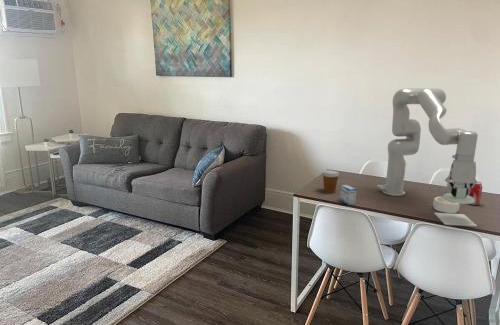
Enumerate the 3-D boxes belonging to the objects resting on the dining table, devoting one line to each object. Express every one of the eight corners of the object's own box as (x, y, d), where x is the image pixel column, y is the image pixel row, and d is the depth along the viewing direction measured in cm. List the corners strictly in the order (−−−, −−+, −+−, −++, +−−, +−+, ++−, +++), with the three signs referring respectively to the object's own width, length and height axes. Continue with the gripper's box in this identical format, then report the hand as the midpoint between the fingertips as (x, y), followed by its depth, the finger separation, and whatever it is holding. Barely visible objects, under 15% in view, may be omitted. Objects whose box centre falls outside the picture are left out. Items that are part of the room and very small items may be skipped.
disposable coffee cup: (331, 195, 211) (332, 174, 209) (317, 191, 218) (319, 171, 215) (341, 191, 218) (342, 172, 215) (327, 188, 224) (329, 168, 222)
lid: (449, 203, 171) (451, 190, 169) (438, 194, 183) (440, 182, 182) (479, 204, 169) (481, 191, 168) (466, 195, 182) (468, 183, 181)
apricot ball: (443, 208, 191) (444, 202, 190) (440, 206, 194) (441, 199, 193) (450, 209, 190) (451, 202, 189) (448, 206, 194) (449, 200, 193)
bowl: (438, 212, 188) (439, 203, 187) (430, 205, 198) (431, 196, 197) (461, 214, 187) (462, 204, 185) (452, 206, 197) (453, 197, 196)
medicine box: (339, 200, 203) (340, 185, 201) (346, 199, 205) (347, 184, 203) (348, 205, 196) (350, 189, 194) (355, 204, 198) (357, 188, 196)
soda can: (461, 201, 205) (464, 180, 202) (473, 201, 206) (477, 180, 203) (469, 205, 198) (473, 184, 195) (482, 205, 199) (486, 184, 196)
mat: (445, 224, 173) (445, 223, 173) (434, 213, 187) (434, 212, 186) (477, 226, 172) (477, 225, 171) (463, 215, 185) (463, 214, 185)
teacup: (469, 200, 206) (471, 186, 205) (448, 199, 209) (450, 185, 207) (461, 192, 220) (463, 179, 218) (441, 191, 222) (443, 178, 220)
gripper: (448, 159, 169) (443, 197, 173) (488, 160, 167) (481, 199, 171) (442, 155, 176) (437, 192, 181) (480, 157, 174) (474, 194, 179)
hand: (458, 195), depth 176 cm, fingers closed on lid, 4 cm apart
